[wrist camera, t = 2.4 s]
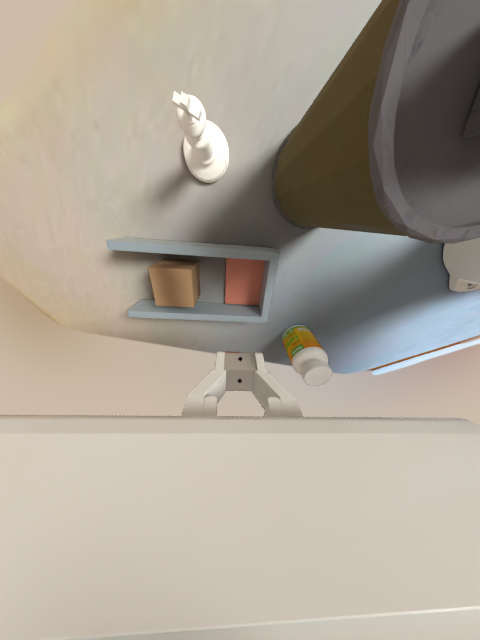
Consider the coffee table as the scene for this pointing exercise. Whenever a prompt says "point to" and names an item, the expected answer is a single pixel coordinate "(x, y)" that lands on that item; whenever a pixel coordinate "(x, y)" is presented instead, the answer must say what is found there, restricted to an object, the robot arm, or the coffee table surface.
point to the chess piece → (201, 140)
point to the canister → (393, 130)
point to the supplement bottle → (306, 355)
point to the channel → (241, 280)
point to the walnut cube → (175, 282)
